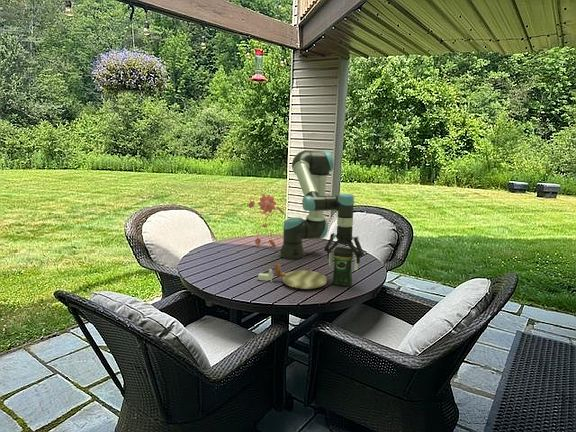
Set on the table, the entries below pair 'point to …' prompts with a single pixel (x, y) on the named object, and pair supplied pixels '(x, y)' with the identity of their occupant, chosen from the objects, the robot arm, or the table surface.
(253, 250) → the table surface
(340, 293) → the table surface
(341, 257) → the coffee jar
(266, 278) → the pale green block
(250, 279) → the table surface
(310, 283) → the turntable
